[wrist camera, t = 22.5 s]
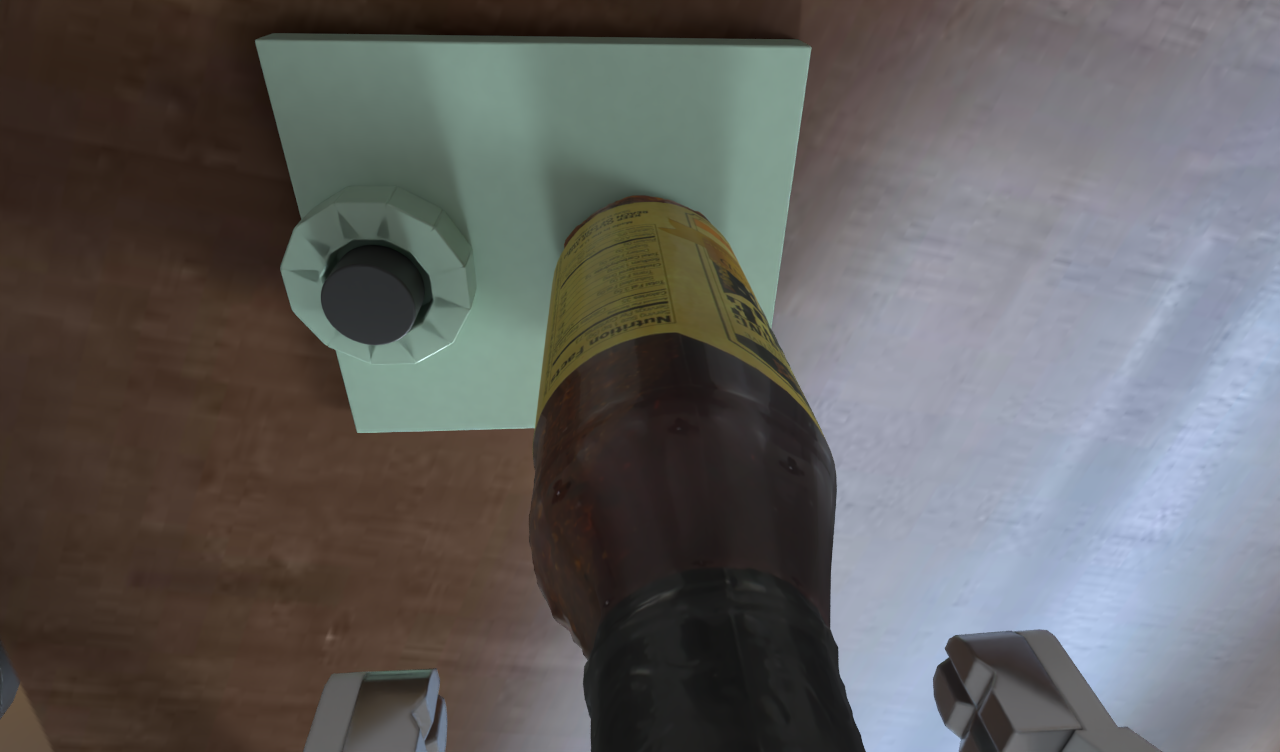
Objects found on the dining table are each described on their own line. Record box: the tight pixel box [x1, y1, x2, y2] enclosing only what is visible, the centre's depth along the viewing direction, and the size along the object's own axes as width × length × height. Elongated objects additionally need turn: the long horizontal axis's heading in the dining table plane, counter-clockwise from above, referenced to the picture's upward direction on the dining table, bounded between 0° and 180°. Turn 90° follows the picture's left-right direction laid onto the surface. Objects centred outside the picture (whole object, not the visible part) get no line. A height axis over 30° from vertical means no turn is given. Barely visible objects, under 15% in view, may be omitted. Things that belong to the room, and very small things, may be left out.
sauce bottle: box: [529, 195, 866, 752], centre depth 16 cm, size 7×6×20 cm
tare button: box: [321, 245, 425, 345], centre depth 22 cm, size 3×3×2 cm
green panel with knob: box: [255, 33, 811, 433], centre depth 24 cm, size 16×14×3 cm
